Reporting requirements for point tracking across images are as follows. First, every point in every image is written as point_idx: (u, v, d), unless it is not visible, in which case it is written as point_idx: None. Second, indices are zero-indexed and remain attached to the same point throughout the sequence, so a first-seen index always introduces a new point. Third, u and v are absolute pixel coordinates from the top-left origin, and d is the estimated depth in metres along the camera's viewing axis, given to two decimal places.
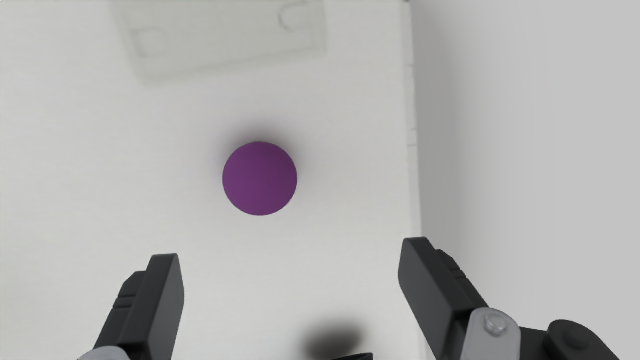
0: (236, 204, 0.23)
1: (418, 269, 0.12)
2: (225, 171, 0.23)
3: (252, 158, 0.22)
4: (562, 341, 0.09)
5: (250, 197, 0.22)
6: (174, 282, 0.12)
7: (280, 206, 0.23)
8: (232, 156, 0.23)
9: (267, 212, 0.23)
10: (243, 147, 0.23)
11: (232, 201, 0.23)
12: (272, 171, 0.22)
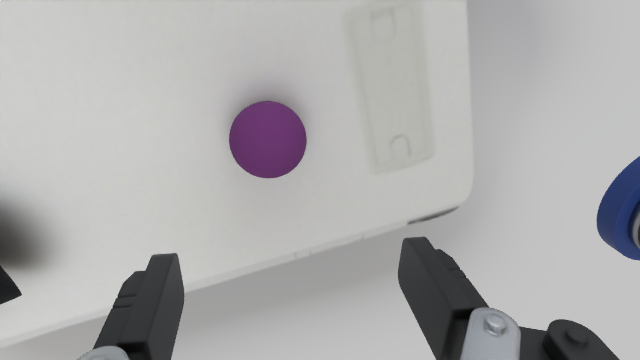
0: (249, 126, 0.21)
1: (418, 269, 0.12)
2: (280, 109, 0.22)
3: (301, 138, 0.22)
4: (562, 341, 0.09)
5: (266, 145, 0.21)
6: (174, 282, 0.12)
7: (251, 170, 0.22)
8: (293, 113, 0.22)
9: (244, 159, 0.21)
10: (301, 122, 0.23)
11: (250, 121, 0.21)
12: (293, 160, 0.22)
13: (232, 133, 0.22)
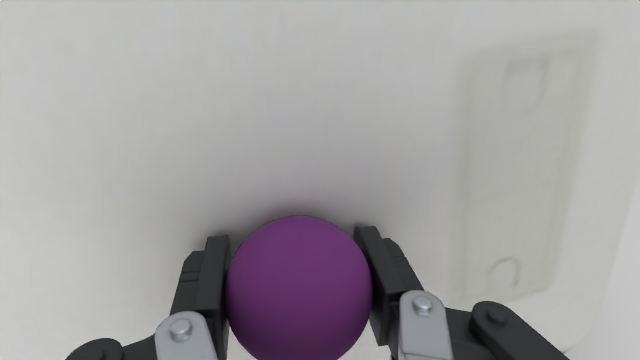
0: (270, 291, 0.10)
1: (364, 256, 0.13)
2: (333, 248, 0.11)
3: (369, 303, 0.11)
4: (483, 320, 0.10)
5: (304, 335, 0.10)
6: (228, 261, 0.13)
7: None
8: (355, 249, 0.11)
9: (253, 349, 0.10)
10: (365, 260, 0.12)
11: (273, 277, 0.10)
12: (349, 347, 0.11)
13: (231, 290, 0.11)
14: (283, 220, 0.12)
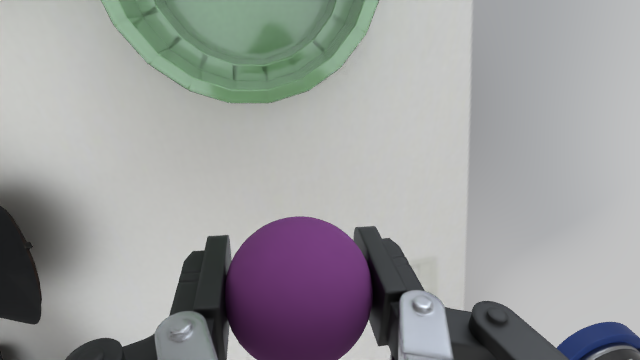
0: (271, 291, 0.10)
1: (364, 256, 0.13)
2: (333, 248, 0.11)
3: (369, 303, 0.11)
4: (483, 320, 0.10)
5: (304, 335, 0.10)
6: (228, 262, 0.13)
7: None
8: (355, 250, 0.11)
9: (253, 349, 0.10)
10: (365, 260, 0.12)
11: (274, 278, 0.10)
12: (350, 348, 0.11)
13: (232, 291, 0.11)
14: (283, 221, 0.12)
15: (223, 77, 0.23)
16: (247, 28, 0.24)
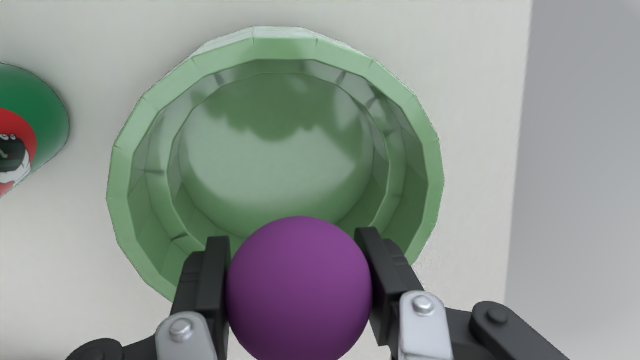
0: (270, 291, 0.10)
1: (364, 256, 0.13)
2: (333, 248, 0.11)
3: (369, 303, 0.11)
4: (483, 320, 0.10)
5: (303, 335, 0.10)
6: (228, 261, 0.13)
7: None
8: (355, 249, 0.11)
9: (253, 349, 0.10)
10: (365, 260, 0.12)
11: (273, 277, 0.10)
12: (350, 347, 0.11)
13: (231, 290, 0.11)
14: (283, 220, 0.12)
15: None
16: (279, 216, 0.23)
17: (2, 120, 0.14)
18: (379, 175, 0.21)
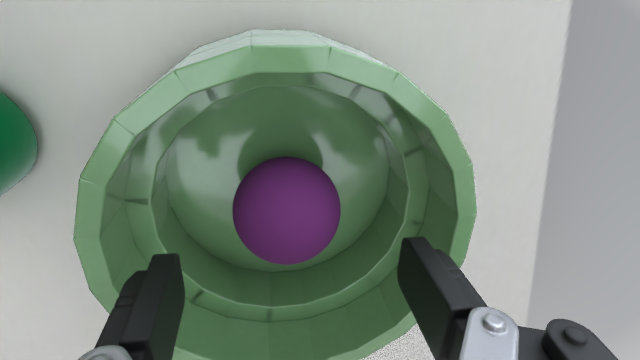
0: (265, 198, 0.14)
1: (416, 268, 0.12)
2: (310, 173, 0.15)
3: (336, 214, 0.15)
4: (560, 340, 0.09)
5: (288, 228, 0.14)
6: (175, 282, 0.12)
7: (262, 257, 0.15)
8: (327, 177, 0.16)
9: (253, 243, 0.15)
10: (335, 188, 0.16)
11: (268, 190, 0.14)
12: (322, 246, 0.15)
13: (238, 203, 0.15)
14: (275, 158, 0.16)
15: (256, 323, 0.19)
16: None
17: None
18: (395, 199, 0.18)
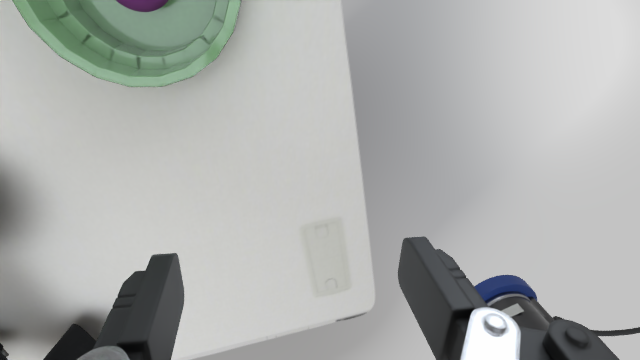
0: None
1: (417, 269, 0.12)
2: None
3: None
4: (562, 341, 0.09)
5: None
6: (174, 282, 0.12)
7: None
8: None
9: None
10: None
11: None
12: None
13: None
14: None
15: (129, 66, 0.29)
16: (152, 26, 0.30)
17: None
18: None
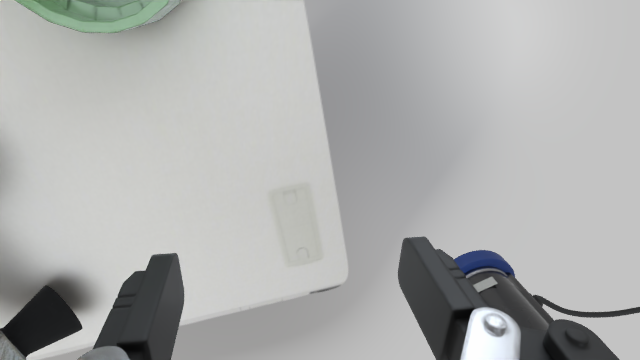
0: None
1: (418, 269, 0.12)
2: None
3: None
4: (562, 341, 0.09)
5: None
6: (174, 282, 0.12)
7: None
8: None
9: None
10: None
11: None
12: None
13: None
14: None
15: (86, 16, 0.30)
16: None
17: None
18: None
